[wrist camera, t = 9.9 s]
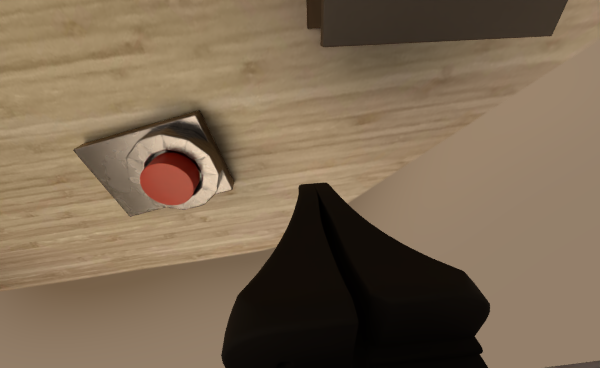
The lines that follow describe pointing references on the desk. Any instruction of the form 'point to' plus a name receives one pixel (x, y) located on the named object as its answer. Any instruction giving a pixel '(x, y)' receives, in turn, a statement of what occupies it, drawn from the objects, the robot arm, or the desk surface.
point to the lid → (434, 20)
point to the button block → (144, 148)
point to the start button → (170, 178)
